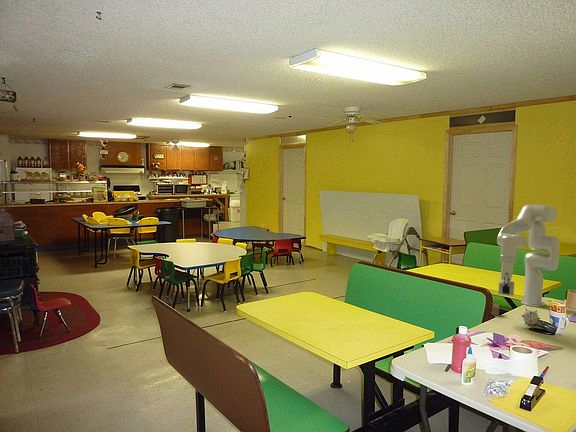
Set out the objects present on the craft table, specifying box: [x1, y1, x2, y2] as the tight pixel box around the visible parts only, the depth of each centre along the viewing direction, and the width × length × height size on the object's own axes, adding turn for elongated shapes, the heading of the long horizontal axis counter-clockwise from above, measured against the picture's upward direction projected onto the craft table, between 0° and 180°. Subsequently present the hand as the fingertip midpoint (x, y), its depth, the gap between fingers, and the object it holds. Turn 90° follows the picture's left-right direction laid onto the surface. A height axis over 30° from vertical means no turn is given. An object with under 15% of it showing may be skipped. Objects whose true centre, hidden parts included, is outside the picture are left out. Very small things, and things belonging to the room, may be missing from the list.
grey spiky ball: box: [521, 308, 541, 326], centre depth 219 cm, size 9×8×10 cm
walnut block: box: [491, 303, 500, 317], centre depth 237 cm, size 5×5×5 cm
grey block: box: [498, 279, 515, 297], centre depth 224 cm, size 7×7×6 cm
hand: (506, 291), depth 224 cm, fingers closed on grey block, 7 cm apart
